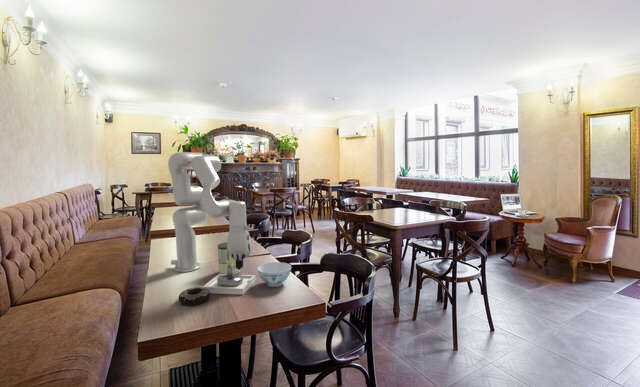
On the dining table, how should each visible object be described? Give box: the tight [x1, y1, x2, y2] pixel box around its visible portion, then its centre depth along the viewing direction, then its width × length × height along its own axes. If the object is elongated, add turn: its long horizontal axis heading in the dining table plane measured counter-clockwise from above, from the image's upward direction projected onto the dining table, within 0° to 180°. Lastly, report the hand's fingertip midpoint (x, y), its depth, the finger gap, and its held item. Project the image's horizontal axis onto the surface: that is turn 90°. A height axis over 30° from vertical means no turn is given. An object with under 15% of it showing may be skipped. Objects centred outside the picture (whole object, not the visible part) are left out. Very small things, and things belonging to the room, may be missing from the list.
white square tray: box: [202, 273, 257, 295], centre depth 145 cm, size 18×16×3 cm
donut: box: [177, 286, 211, 307], centre depth 131 cm, size 12×12×4 cm
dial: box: [217, 263, 243, 287], centre depth 145 cm, size 12×11×7 cm
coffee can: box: [217, 241, 241, 274], centre depth 163 cm, size 10×10×14 cm
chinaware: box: [257, 261, 292, 288], centre depth 147 cm, size 15×15×8 cm
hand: (239, 268), depth 149 cm, fingers closed
